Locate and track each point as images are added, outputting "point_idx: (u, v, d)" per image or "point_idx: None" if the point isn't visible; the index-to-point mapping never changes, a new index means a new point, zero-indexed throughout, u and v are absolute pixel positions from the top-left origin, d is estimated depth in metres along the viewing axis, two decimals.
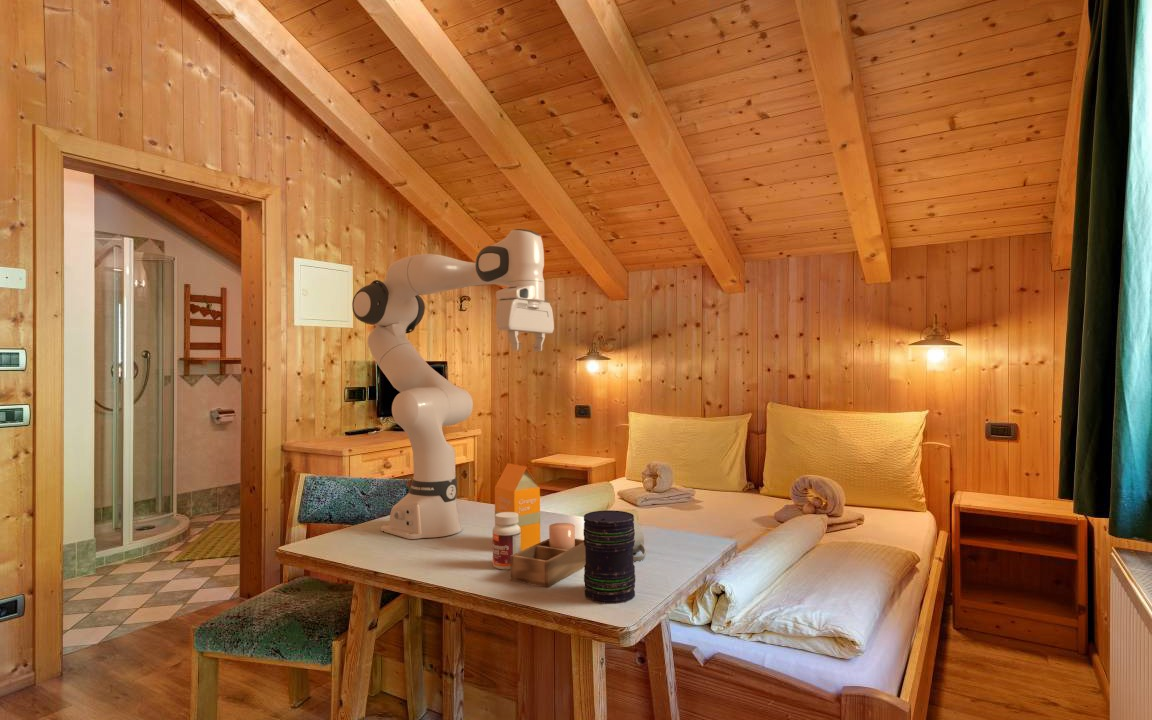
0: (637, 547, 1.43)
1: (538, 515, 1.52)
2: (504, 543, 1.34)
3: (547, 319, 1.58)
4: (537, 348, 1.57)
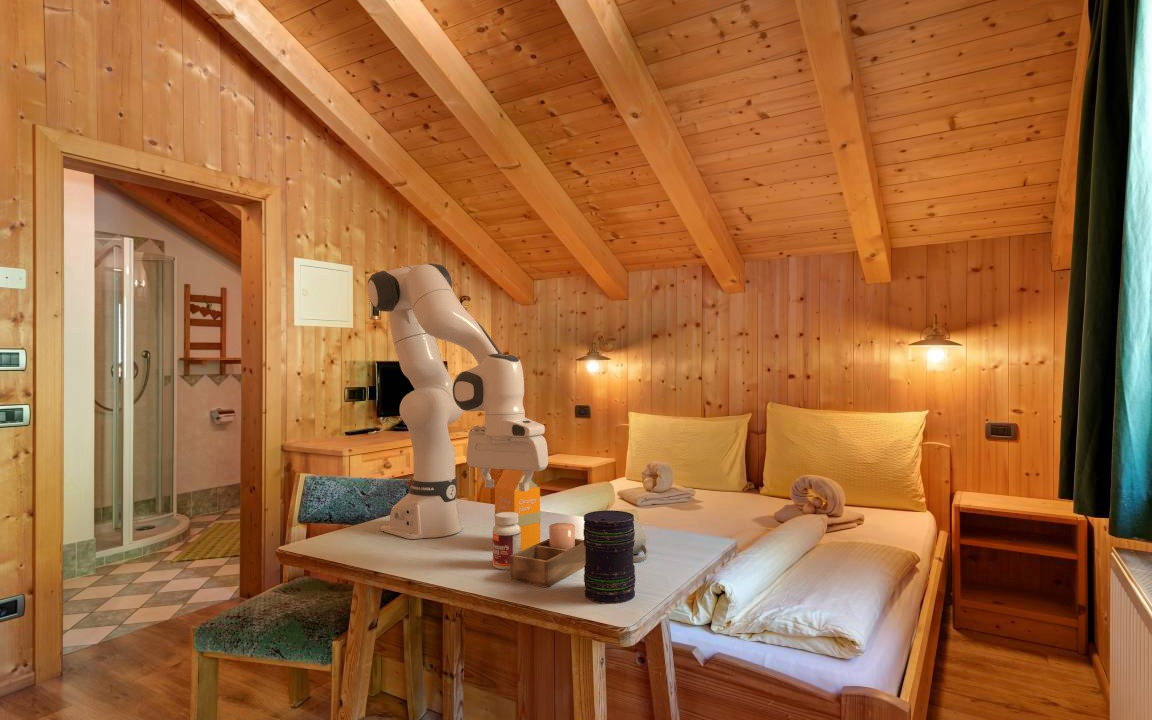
0: (639, 548, 1.43)
1: (538, 515, 1.52)
2: (504, 543, 1.34)
3: None
4: (493, 484, 1.40)
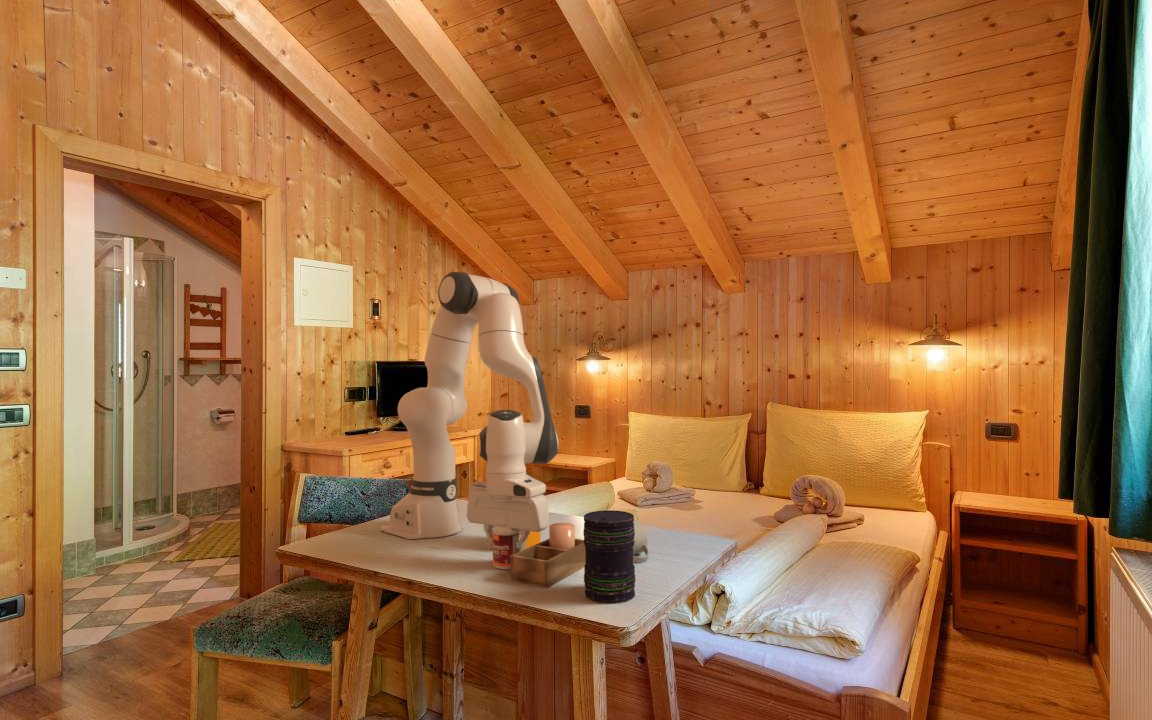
0: (640, 548, 1.42)
1: None
2: (504, 543, 1.34)
3: None
4: None
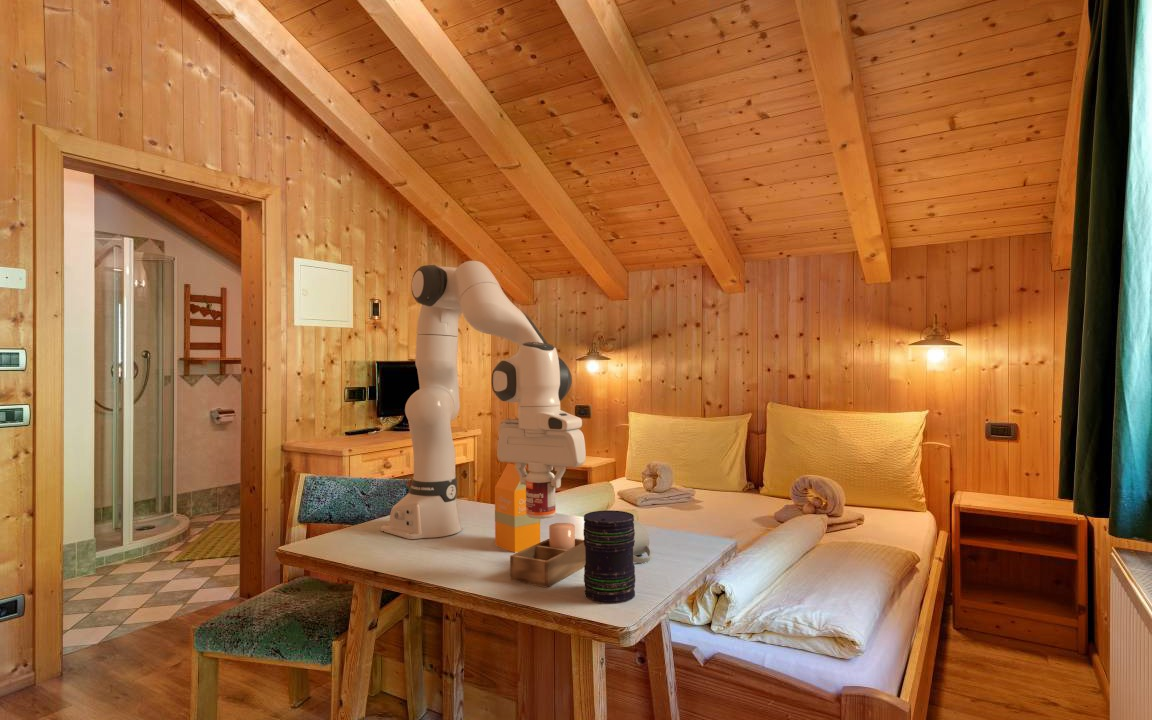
0: (642, 549, 1.42)
1: None
2: (538, 491, 1.27)
3: None
4: None
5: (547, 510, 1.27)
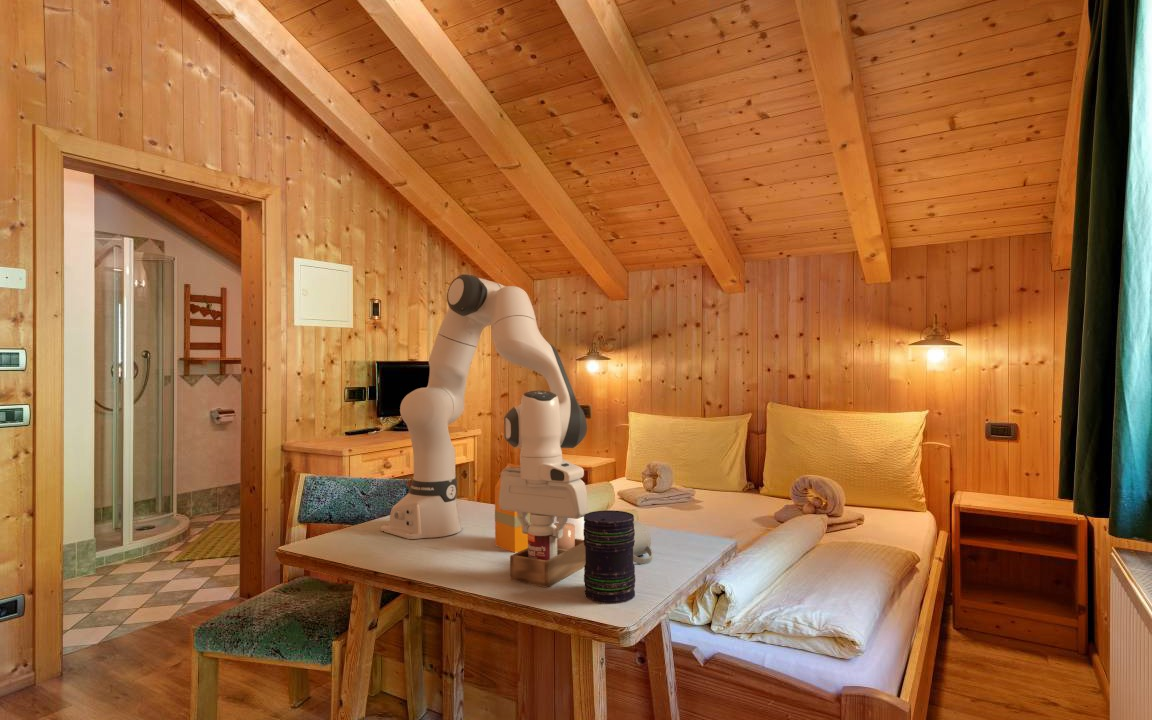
0: (644, 549, 1.41)
1: None
2: (540, 544, 1.27)
3: None
4: None
5: None
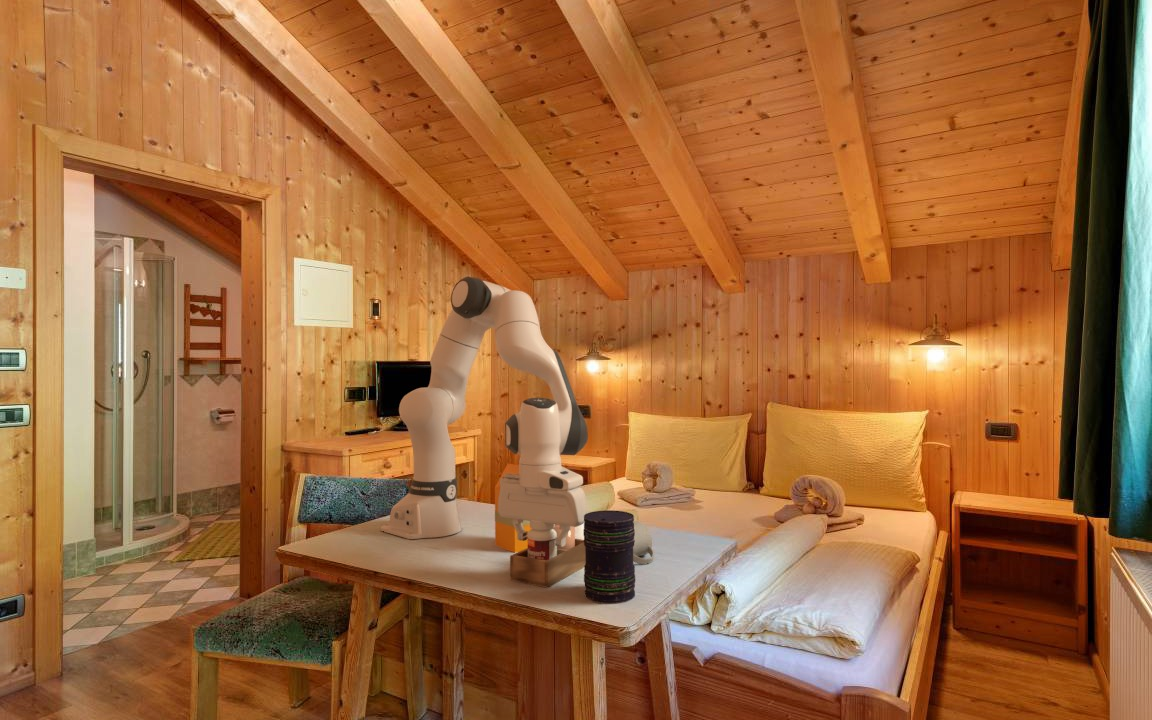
0: (645, 549, 1.41)
1: None
2: (540, 549, 1.27)
3: None
4: (525, 536, 1.32)
5: None
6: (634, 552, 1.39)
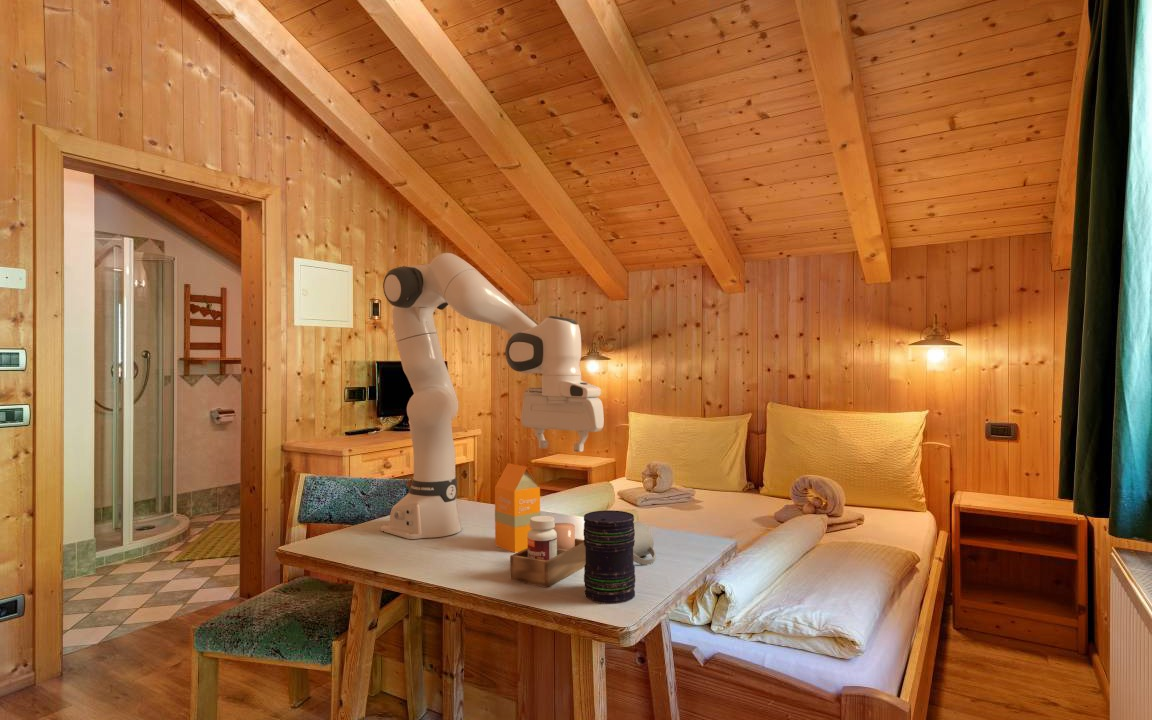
0: (646, 550, 1.41)
1: (538, 515, 1.52)
2: (540, 549, 1.27)
3: None
4: (546, 445, 1.42)
5: None
6: (635, 552, 1.39)
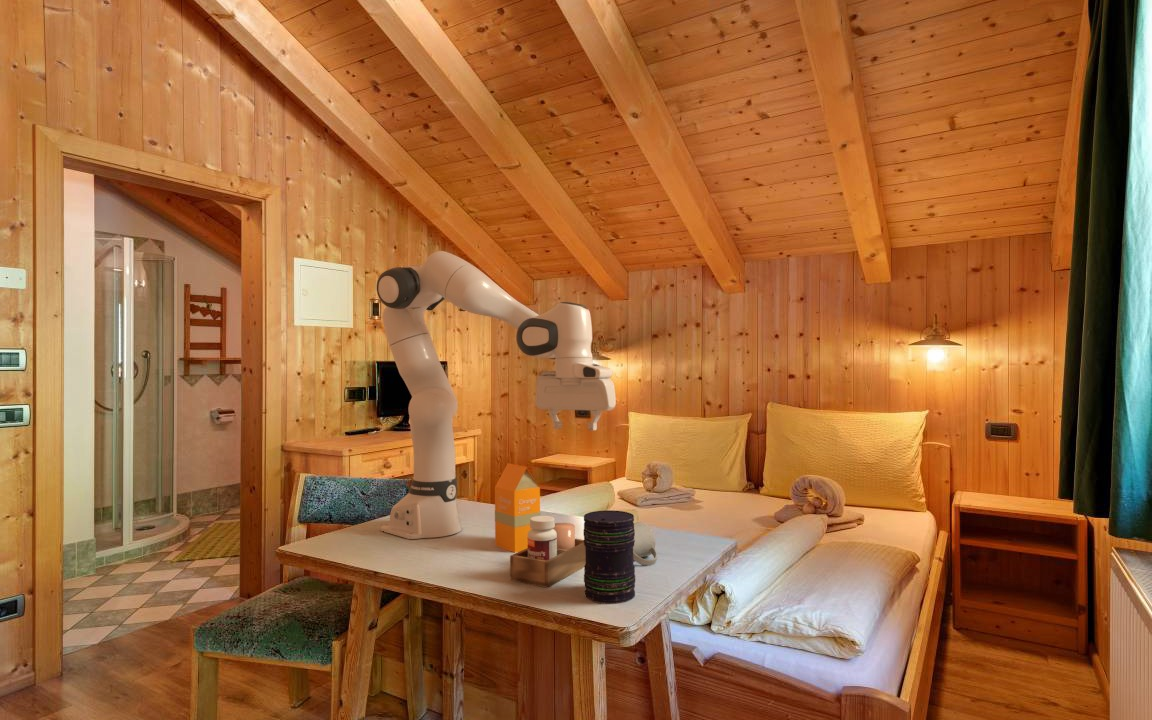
0: (648, 550, 1.40)
1: (538, 515, 1.52)
2: (540, 549, 1.27)
3: None
4: (560, 425, 1.49)
5: None
6: (637, 553, 1.38)
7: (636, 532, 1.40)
